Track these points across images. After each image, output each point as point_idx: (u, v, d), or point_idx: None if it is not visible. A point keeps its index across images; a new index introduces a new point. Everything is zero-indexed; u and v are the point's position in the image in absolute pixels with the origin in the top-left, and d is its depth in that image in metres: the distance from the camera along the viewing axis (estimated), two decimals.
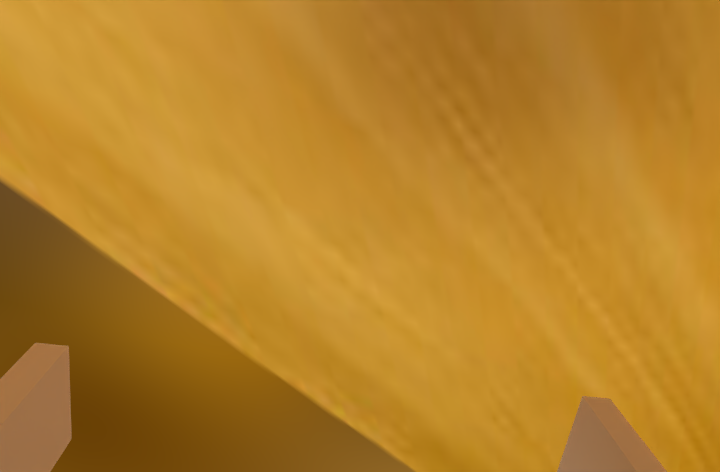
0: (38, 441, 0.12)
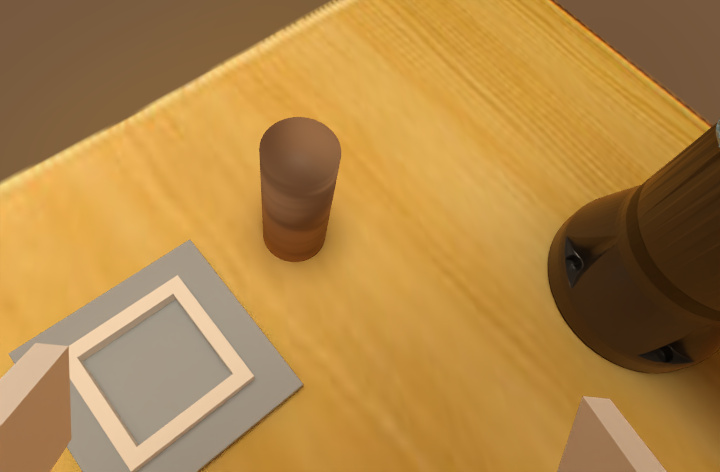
0: (38, 441, 0.12)
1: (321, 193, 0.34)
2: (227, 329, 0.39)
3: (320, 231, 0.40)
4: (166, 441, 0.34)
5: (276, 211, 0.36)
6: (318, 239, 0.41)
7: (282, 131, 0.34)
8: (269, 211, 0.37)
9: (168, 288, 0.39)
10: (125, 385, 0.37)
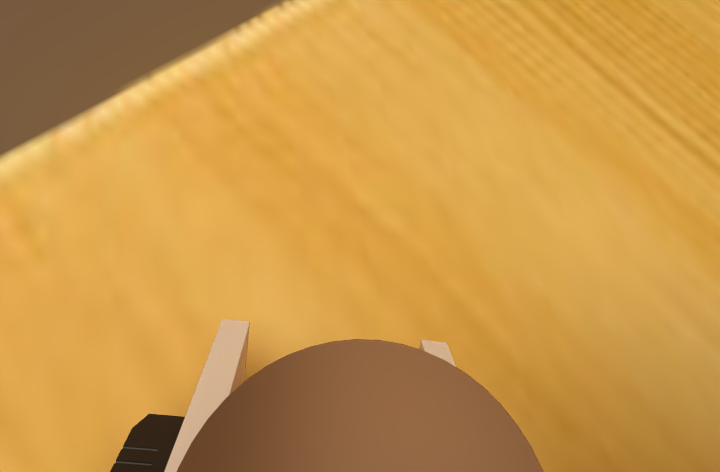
0: None
1: None
2: None
3: None
4: None
5: None
6: None
7: (278, 428, 0.07)
8: None
9: None
10: None
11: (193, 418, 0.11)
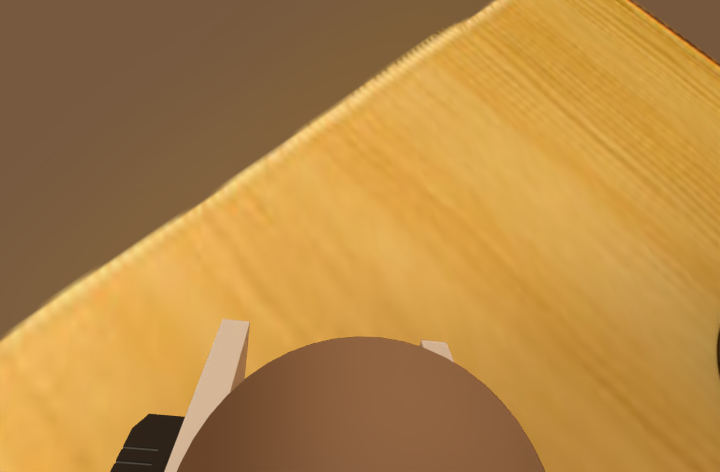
0: None
1: None
2: None
3: None
4: None
5: None
6: None
7: (279, 425, 0.07)
8: None
9: None
10: None
11: (193, 418, 0.11)
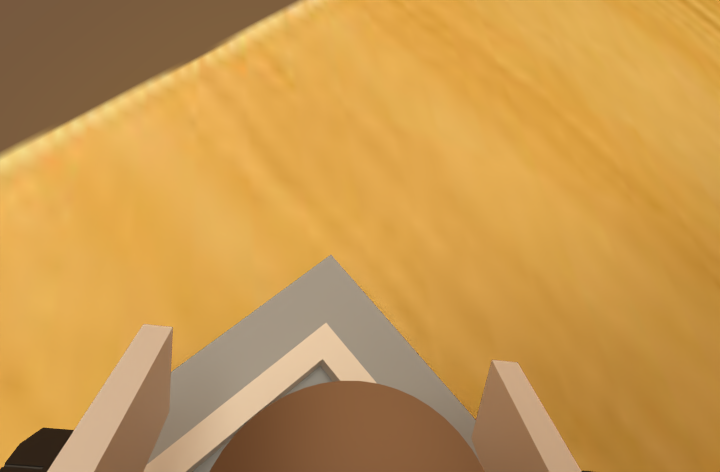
0: (153, 410, 0.13)
1: None
2: None
3: None
4: None
5: None
6: None
7: (279, 456, 0.09)
8: None
9: (312, 349, 0.21)
10: None
11: (81, 433, 0.10)
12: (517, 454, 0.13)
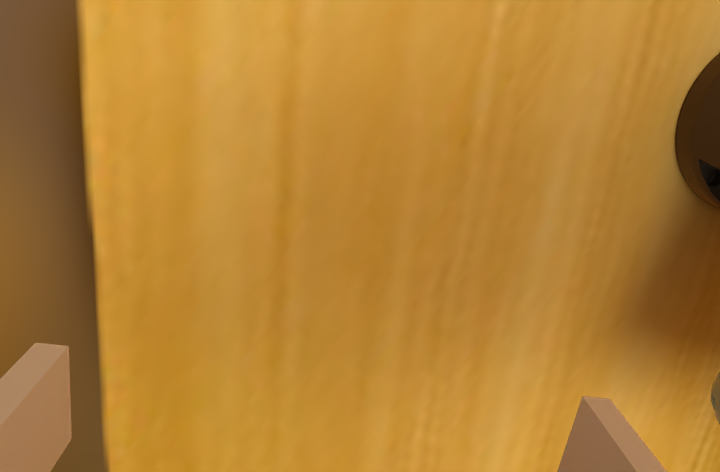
0: (38, 441, 0.12)
1: None
2: None
3: None
4: None
5: None
6: None
7: None
8: None
9: None
10: None
11: None
12: None
